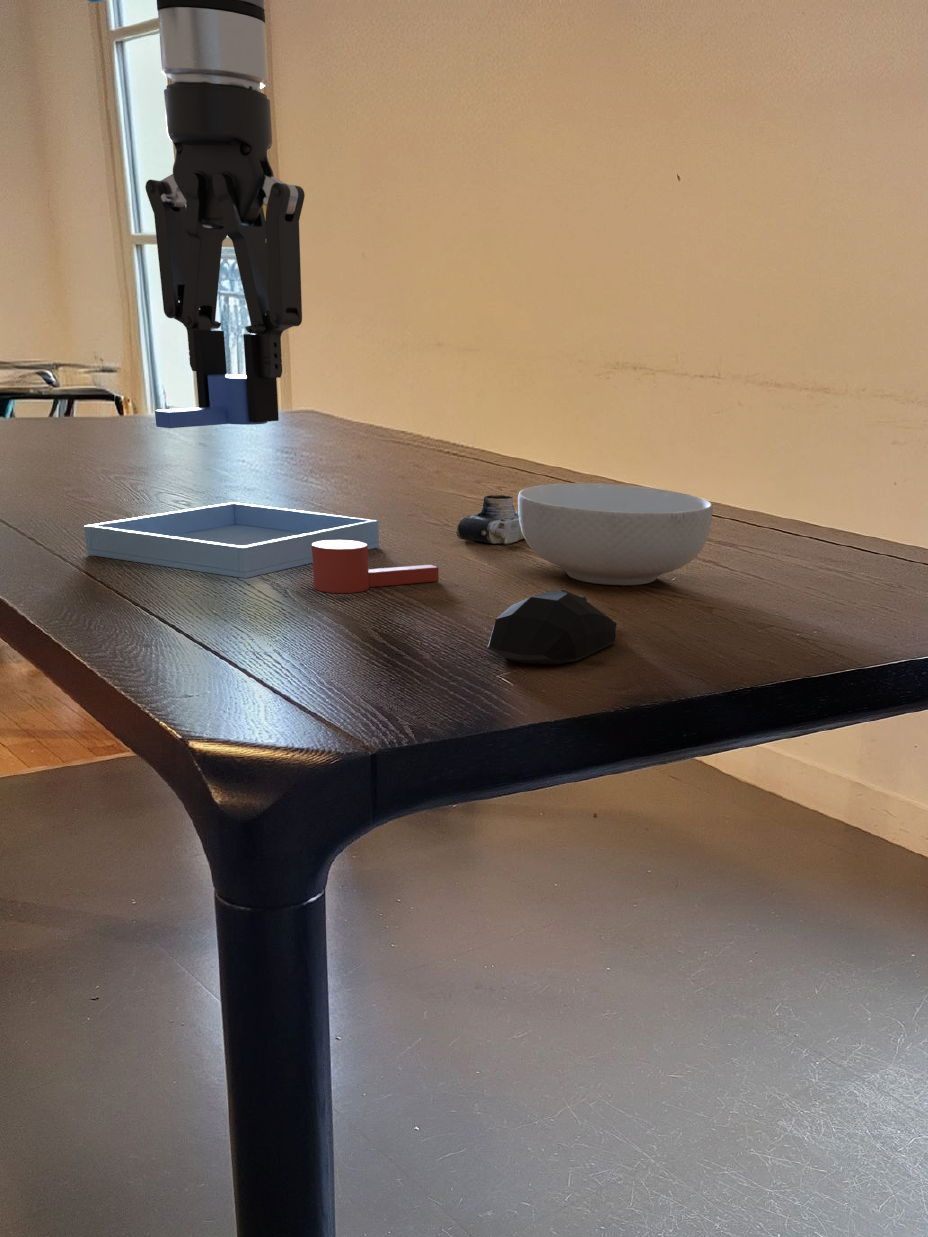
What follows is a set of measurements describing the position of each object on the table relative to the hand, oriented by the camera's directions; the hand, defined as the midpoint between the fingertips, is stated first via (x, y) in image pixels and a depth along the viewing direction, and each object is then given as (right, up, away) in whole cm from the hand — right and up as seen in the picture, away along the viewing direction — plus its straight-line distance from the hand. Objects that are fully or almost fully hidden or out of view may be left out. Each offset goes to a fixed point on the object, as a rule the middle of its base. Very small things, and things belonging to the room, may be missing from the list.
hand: (239, 417), depth 105 cm
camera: (+18, -3, +27) cm, 33 cm away
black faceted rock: (+27, -21, -14) cm, 37 cm away
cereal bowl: (+30, -11, +10) cm, 34 cm away
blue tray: (-4, -8, +13) cm, 16 cm away
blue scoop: (-1, -1, -3) cm, 3 cm away
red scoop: (+11, -13, +2) cm, 17 cm away
